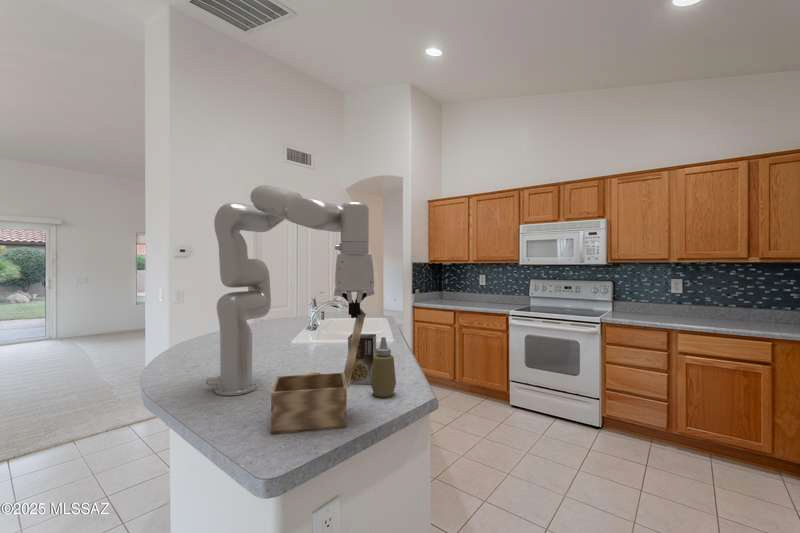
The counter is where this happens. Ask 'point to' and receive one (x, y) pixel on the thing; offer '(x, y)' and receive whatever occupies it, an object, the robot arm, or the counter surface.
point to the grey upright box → (363, 359)
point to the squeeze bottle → (383, 371)
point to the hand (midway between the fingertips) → (354, 317)
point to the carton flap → (353, 347)
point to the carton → (308, 403)
